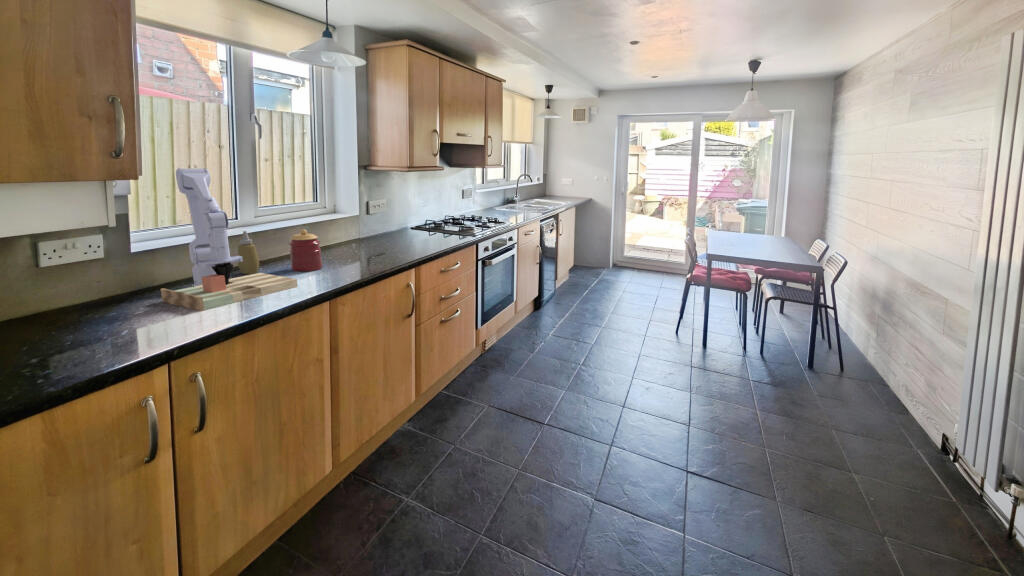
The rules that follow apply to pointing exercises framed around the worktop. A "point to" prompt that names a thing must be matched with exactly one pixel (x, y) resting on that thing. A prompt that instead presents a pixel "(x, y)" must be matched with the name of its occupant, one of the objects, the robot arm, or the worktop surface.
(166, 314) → the worktop surface
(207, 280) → the block
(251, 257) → the squeeze bottle
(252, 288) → the board
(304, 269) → the canister
